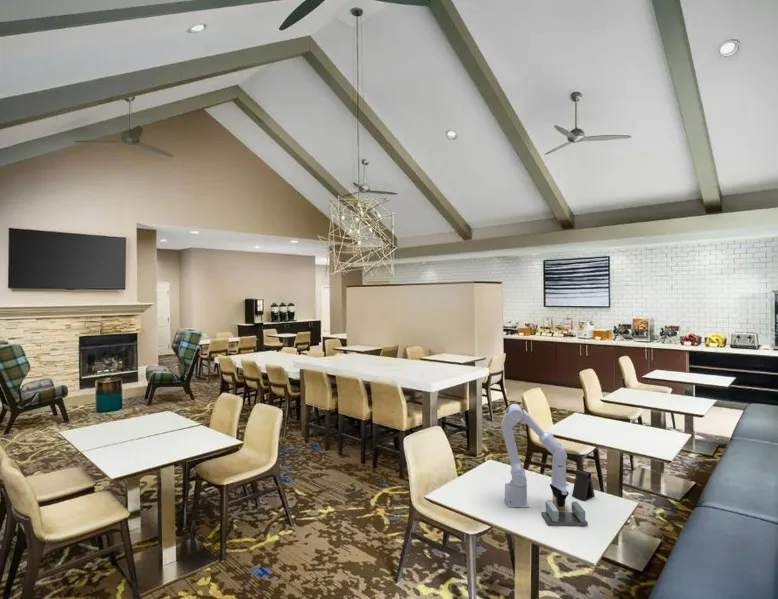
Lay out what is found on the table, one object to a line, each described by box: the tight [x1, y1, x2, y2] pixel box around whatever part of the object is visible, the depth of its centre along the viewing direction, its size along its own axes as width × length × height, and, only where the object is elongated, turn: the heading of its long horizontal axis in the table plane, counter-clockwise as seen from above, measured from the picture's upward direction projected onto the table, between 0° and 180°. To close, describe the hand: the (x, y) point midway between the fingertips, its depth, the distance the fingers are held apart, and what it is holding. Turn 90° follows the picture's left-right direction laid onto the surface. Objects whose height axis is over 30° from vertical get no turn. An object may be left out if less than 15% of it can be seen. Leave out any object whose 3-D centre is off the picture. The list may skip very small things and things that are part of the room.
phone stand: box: [571, 468, 596, 502], centre depth 211 cm, size 9×6×12 cm, turn 125°
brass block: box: [552, 493, 566, 511], centre depth 201 cm, size 4×4×5 cm
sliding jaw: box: [545, 500, 560, 522], centre depth 189 cm, size 2×9×4 cm, turn 178°
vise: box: [540, 501, 589, 527], centre depth 189 cm, size 16×9×6 cm, turn 88°
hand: (558, 504), depth 201 cm, fingers closed on brass block, 4 cm apart
